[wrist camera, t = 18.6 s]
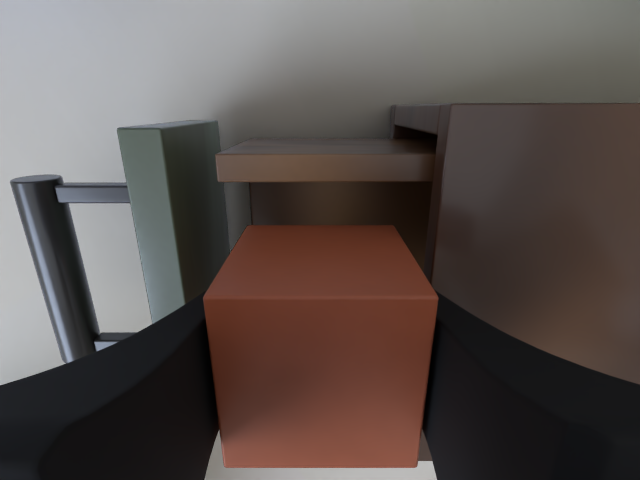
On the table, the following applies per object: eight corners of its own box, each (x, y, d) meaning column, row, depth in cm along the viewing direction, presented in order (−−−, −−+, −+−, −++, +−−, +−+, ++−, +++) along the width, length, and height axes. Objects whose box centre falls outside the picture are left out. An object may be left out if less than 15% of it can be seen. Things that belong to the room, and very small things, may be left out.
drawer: (122, 333, 19) (41, 426, 13) (76, 120, 15) (-62, 127, 10) (457, 333, 19) (514, 426, 13) (490, 120, 15) (587, 127, 10)
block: (255, 347, 13) (222, 469, 9) (246, 224, 11) (201, 296, 7) (385, 348, 13) (418, 469, 9) (394, 224, 11) (440, 296, 7)
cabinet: (377, 333, 20) (409, 461, 13) (391, 105, 16) (451, 103, 9) (627, 333, 20) (802, 461, 13) (705, 105, 16) (1026, 103, 9)
